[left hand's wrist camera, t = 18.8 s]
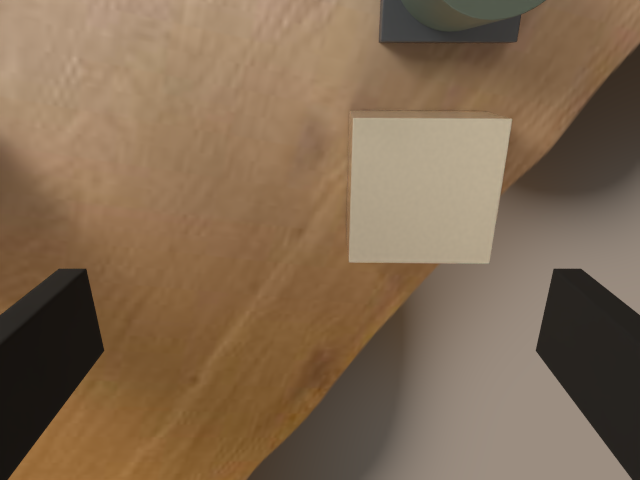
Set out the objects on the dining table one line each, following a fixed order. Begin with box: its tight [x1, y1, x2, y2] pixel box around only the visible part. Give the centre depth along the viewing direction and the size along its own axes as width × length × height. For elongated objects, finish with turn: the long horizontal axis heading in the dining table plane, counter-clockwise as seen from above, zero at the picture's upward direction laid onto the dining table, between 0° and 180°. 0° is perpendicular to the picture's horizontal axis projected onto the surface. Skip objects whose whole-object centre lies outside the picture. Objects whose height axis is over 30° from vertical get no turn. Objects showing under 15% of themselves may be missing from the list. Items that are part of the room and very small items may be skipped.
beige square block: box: [346, 111, 512, 264], centre depth 32 cm, size 10×10×5 cm
